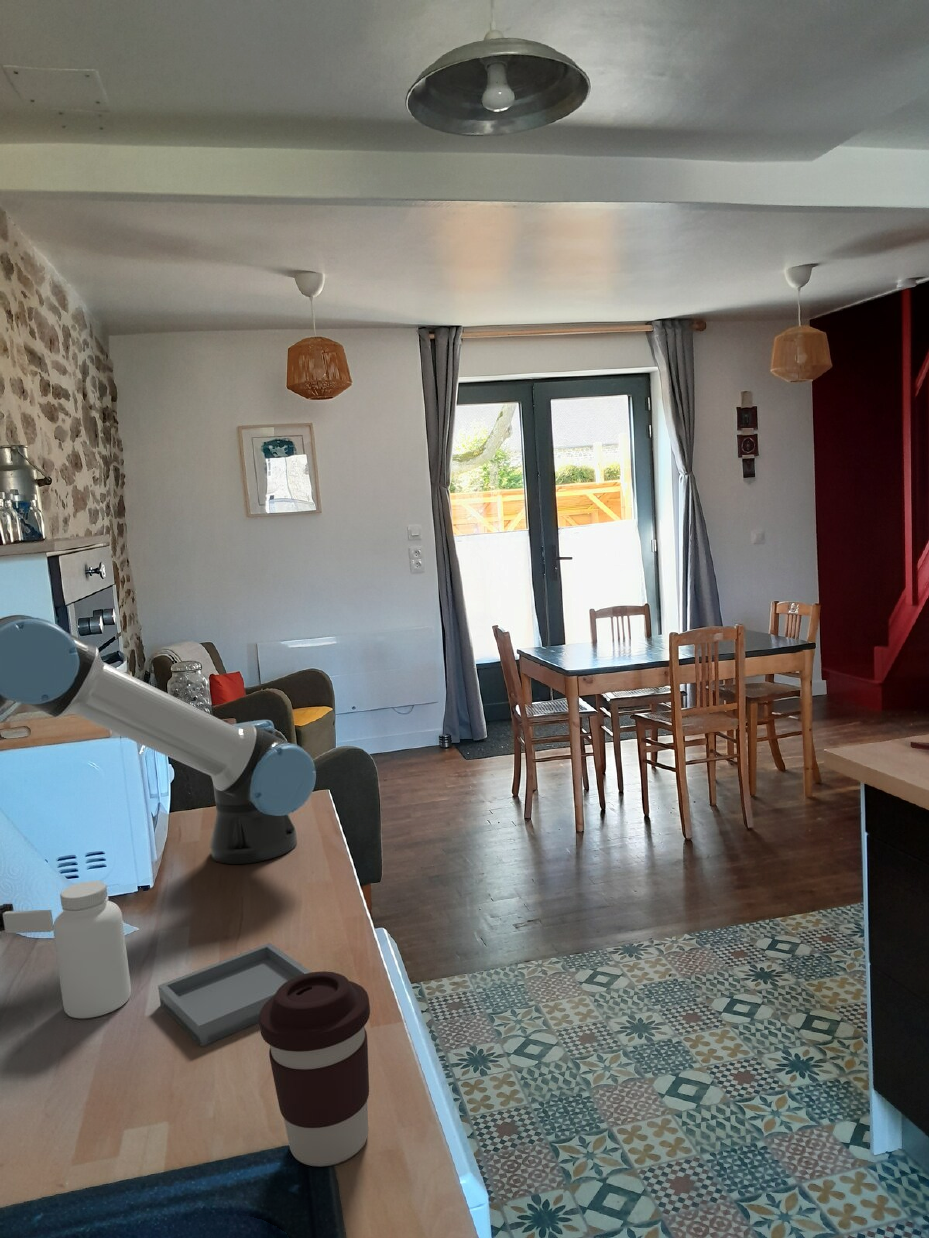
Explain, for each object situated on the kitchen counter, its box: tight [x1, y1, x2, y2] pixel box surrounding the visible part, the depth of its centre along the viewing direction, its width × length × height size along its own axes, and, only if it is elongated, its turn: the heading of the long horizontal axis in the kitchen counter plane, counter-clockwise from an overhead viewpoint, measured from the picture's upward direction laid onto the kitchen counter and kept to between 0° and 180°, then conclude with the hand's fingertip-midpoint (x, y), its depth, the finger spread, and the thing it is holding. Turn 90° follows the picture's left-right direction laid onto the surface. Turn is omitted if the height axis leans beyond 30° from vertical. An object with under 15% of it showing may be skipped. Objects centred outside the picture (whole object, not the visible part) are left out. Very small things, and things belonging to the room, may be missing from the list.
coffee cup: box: [258, 970, 371, 1167], centre depth 85 cm, size 10×10×15 cm
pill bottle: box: [52, 880, 132, 1019], centre depth 115 cm, size 8×8×15 cm
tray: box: [157, 942, 312, 1048], centre depth 113 cm, size 15×13×2 cm
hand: (20, 944), depth 116 cm, fingers open, 13 cm apart
